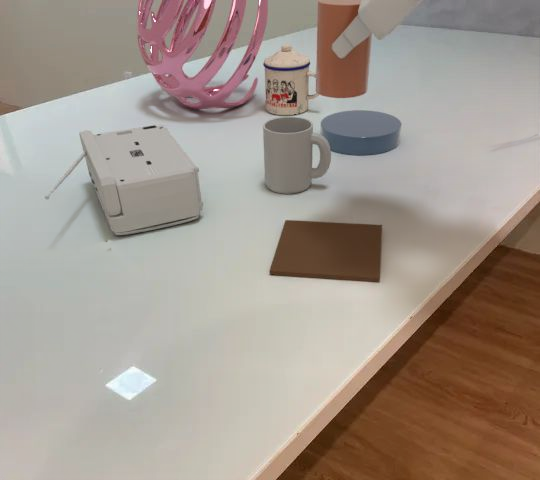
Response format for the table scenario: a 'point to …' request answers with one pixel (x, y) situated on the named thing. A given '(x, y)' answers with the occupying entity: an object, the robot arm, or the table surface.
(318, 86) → the orange upright cylinder
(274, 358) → the table surface
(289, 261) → the mat
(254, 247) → the table surface
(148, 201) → the radio
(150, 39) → the spiral basket
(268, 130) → the cup
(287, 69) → the teacup with lid
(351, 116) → the stand
